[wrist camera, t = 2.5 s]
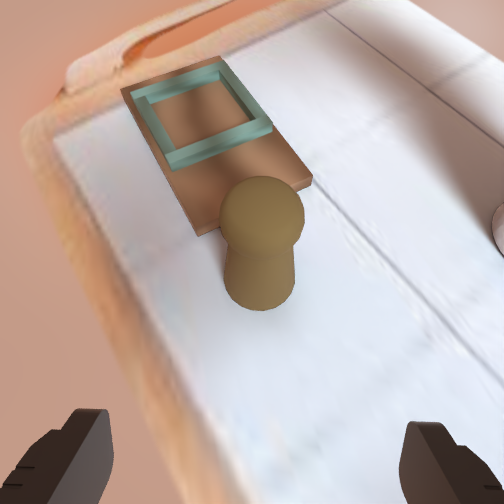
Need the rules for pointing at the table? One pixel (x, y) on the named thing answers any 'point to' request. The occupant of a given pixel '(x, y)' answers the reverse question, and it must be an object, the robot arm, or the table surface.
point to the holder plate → (210, 137)
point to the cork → (260, 241)
